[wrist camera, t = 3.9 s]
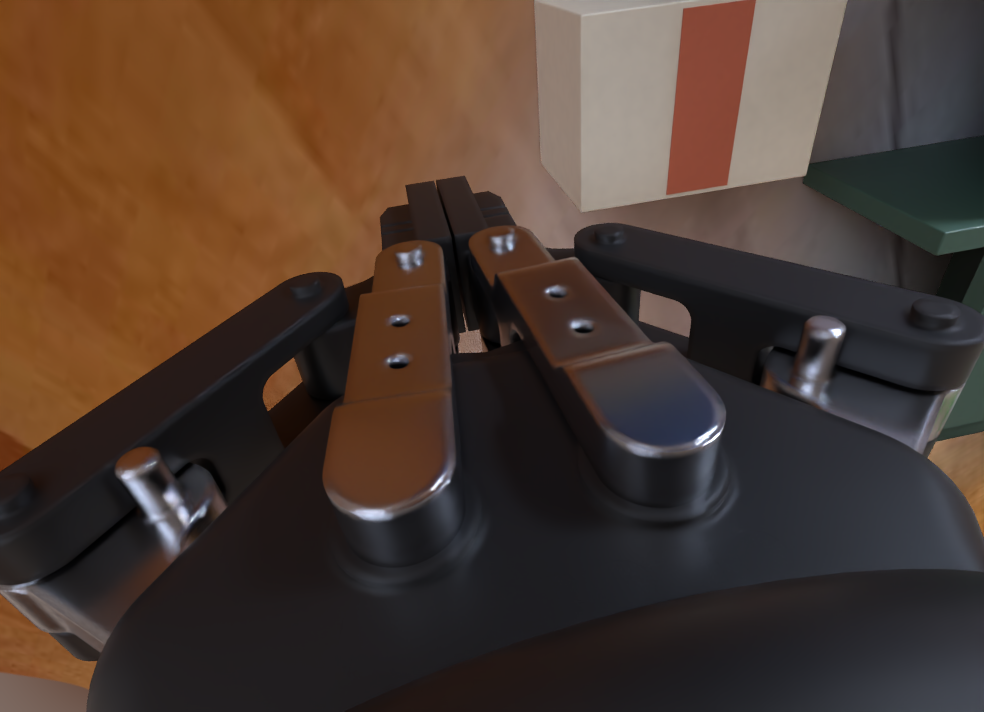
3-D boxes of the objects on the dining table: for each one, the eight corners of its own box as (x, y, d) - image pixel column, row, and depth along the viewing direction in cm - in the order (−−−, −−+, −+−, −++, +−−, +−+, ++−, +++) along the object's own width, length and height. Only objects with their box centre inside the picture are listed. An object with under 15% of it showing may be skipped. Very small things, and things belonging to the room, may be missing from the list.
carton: (533, -1, 22) (581, 14, 17) (751, -30, 23) (855, -22, 18) (540, 163, 26) (581, 214, 21) (727, 134, 27) (807, 176, 22)
